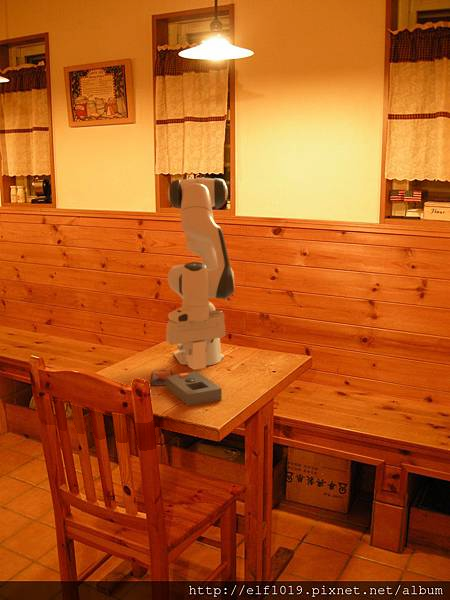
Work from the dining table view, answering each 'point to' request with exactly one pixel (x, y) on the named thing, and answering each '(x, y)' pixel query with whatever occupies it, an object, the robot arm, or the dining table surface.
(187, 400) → the grey rectangular box
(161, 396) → the dining table surface
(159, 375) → the smartphone
